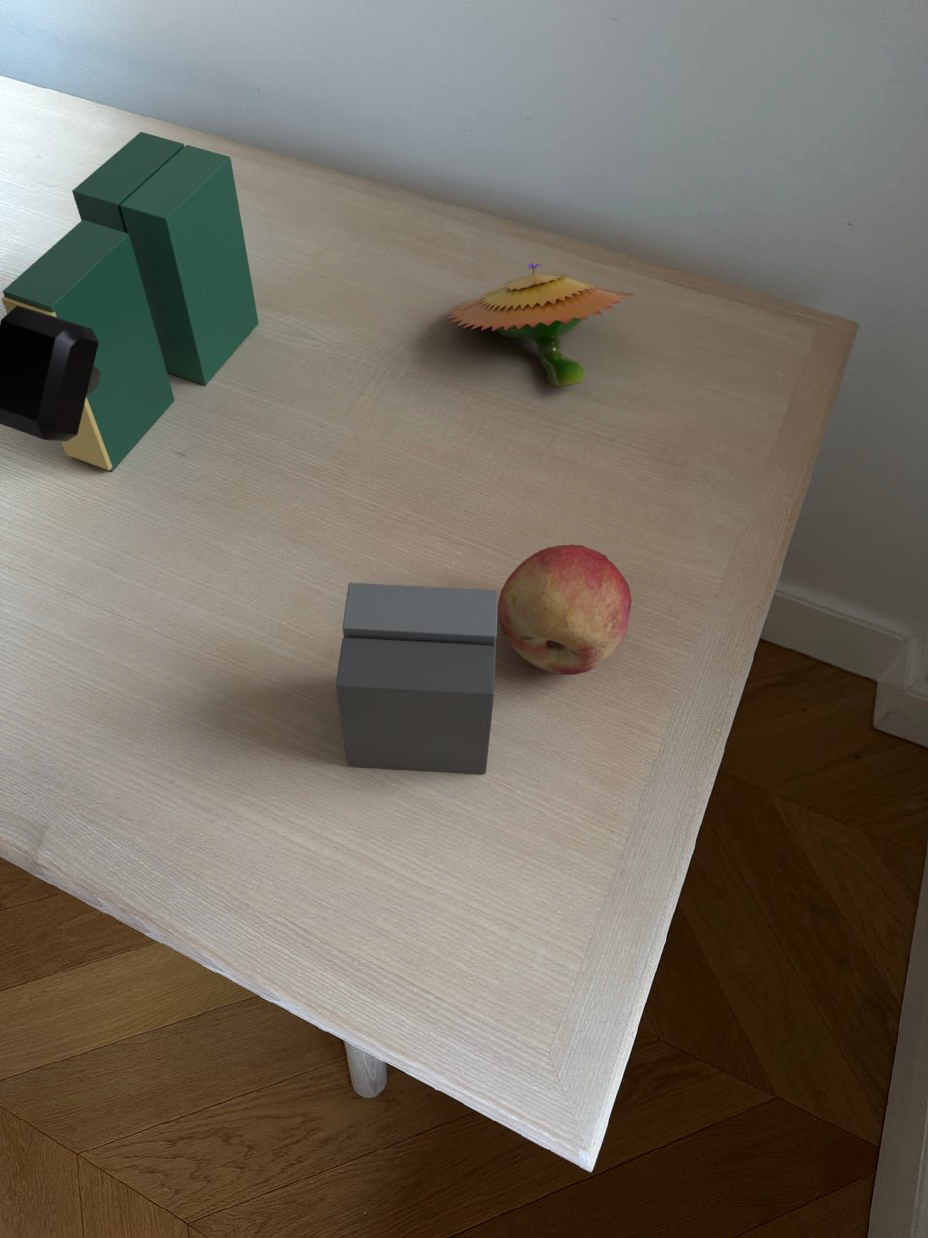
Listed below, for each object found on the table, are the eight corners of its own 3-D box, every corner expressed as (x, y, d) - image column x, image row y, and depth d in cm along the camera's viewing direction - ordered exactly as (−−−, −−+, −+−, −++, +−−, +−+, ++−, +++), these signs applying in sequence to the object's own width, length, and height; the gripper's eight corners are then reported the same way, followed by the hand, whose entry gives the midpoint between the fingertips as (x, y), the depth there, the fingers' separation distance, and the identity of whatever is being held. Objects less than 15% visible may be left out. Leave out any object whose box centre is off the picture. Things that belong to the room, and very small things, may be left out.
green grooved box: (205, 385, 76) (166, 218, 64) (124, 358, 77) (71, 190, 66) (259, 323, 80) (230, 156, 69) (181, 298, 82) (140, 131, 70)
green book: (110, 474, 70) (48, 309, 59) (67, 458, 71) (-2, 292, 60) (175, 400, 75) (129, 233, 63) (134, 386, 76) (81, 218, 64)
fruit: (471, 645, 63) (476, 566, 56) (552, 577, 66) (566, 495, 60) (565, 723, 60) (582, 649, 53) (645, 647, 63) (670, 569, 57)
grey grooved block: (347, 767, 58) (334, 680, 50) (358, 675, 62) (348, 581, 54) (485, 774, 58) (494, 689, 50) (489, 682, 61) (498, 589, 54)
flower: (674, 345, 80) (661, 232, 76) (597, 397, 70) (579, 271, 67) (515, 356, 88) (496, 256, 85) (428, 404, 79) (403, 293, 75)
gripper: (14, 190, 44) (196, 267, 59) (-309, 92, 48) (-62, 188, 63) (-38, 435, 46) (150, 450, 61) (-343, 323, 50) (-96, 363, 65)
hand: (34, 357), depth 63 cm, fingers open, 9 cm apart
